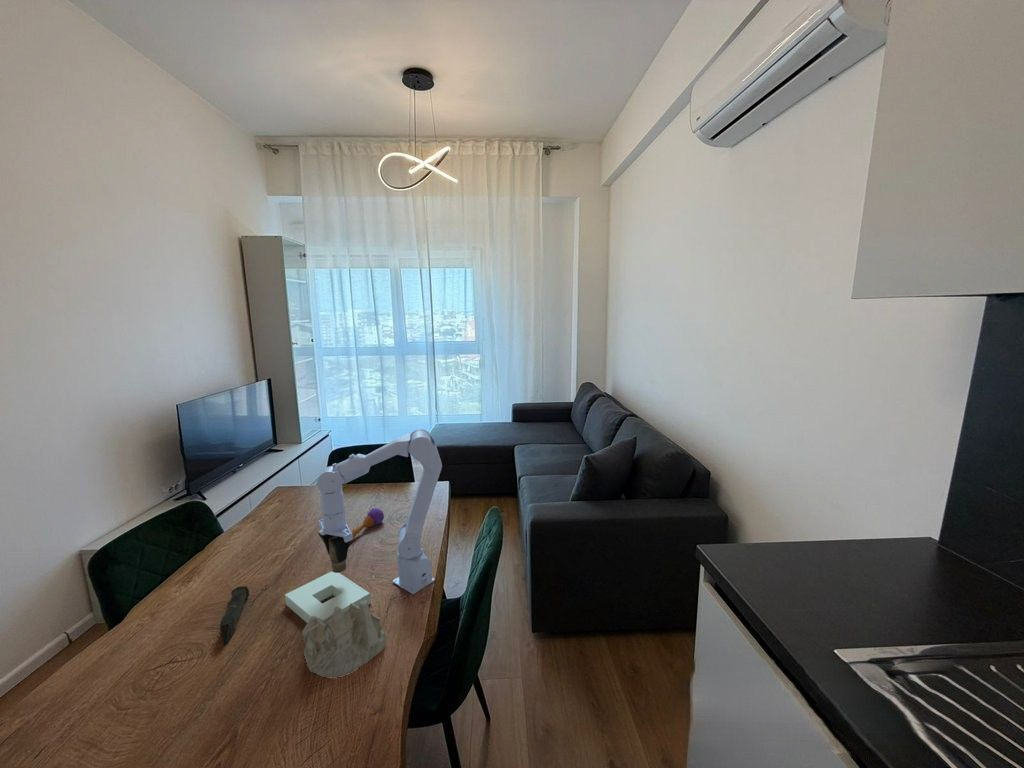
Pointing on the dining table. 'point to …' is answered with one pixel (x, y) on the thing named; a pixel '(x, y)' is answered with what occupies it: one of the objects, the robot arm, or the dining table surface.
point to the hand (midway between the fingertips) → (337, 557)
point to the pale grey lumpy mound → (342, 640)
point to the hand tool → (233, 612)
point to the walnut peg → (335, 559)
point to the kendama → (370, 520)
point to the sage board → (325, 596)
